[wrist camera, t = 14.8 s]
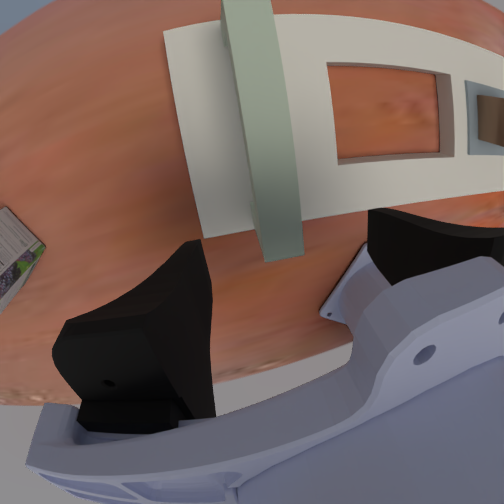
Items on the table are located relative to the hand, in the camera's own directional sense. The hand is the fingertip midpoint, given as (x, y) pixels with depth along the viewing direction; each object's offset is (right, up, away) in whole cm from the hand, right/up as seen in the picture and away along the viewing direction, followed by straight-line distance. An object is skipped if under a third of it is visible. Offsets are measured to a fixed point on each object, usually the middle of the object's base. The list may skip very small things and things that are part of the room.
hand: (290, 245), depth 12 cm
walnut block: (+19, +11, +5) cm, 23 cm away
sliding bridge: (-1, +7, +4) cm, 9 cm away
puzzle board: (+9, +10, +6) cm, 15 cm away
